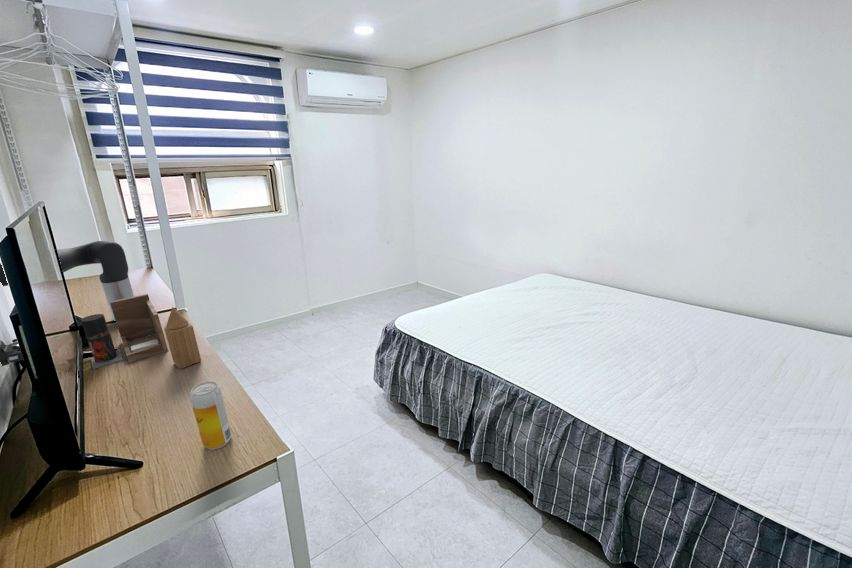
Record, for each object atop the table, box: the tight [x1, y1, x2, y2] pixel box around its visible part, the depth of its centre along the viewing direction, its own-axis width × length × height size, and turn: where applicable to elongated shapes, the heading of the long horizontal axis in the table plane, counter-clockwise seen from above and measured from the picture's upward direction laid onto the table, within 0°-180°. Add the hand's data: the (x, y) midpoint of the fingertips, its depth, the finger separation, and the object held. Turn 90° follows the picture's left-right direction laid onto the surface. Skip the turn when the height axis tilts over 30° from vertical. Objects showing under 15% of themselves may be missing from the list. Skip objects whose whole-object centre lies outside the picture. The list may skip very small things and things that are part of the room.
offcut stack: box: [130, 338, 160, 353], centre depth 137 cm, size 4×8×3 cm, turn 131°
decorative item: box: [164, 306, 202, 370], centre depth 126 cm, size 7×7×20 cm
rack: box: [110, 293, 169, 363], centre depth 139 cm, size 20×11×16 cm, turn 41°
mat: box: [90, 349, 124, 370], centre depth 133 cm, size 9×8×1 cm
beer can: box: [189, 380, 232, 451], centre depth 90 cm, size 6×6×15 cm
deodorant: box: [80, 313, 117, 363], centre depth 130 cm, size 6×6×15 cm
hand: (57, 339), depth 123 cm, fingers open, 8 cm apart
